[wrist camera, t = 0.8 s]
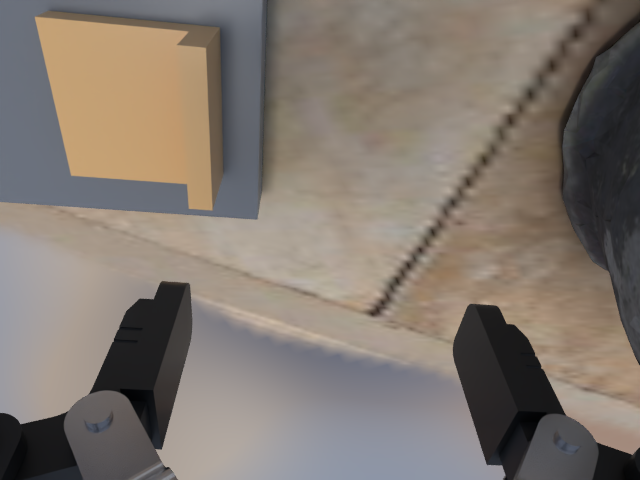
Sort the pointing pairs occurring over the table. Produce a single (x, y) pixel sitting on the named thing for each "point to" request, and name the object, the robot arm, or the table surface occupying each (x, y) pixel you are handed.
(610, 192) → the clay pot
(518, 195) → the table surface
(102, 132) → the tan l-shaped block
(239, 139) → the socket plate
